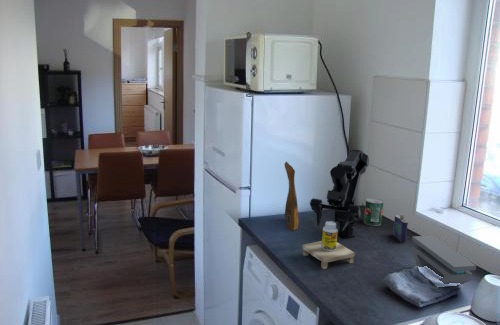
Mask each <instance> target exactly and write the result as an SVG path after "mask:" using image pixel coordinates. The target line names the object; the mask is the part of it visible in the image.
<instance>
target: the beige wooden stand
mask: <svg viewBox="0 0 500 325" xmlns="http://www.w3.org/2000/svg"><path fill="white" fill-rule="evenodd" d="M321 244H322V240H319V241H314V242H310V243H309V242H308V243H304V244H302V245H301V246H302V247H301V248H302V255H303V256H304V257H308V256H309V254H310V255H311V256H312V257H314V258H315V259H317V260H319V262H320V261H321V262H320V268H321V269H323V270H327V269H328V265H329V264H328V263H331V262H335V261H341V260H347V263H348V264H354V260H355V258H354V257H355V256H356V253H355V251H352V250H351V249H349V248H347V247H346V246H344V245H343V244H341V243H339V242H338V241H337V244H336V249H335V250H334V251H326V250H324V249H322V247H321Z"/></svg>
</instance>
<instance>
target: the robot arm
mask: <svg viewBox="0 0 500 325" xmlns="http://www.w3.org/2000/svg"><path fill="white" fill-rule="evenodd" d="M369 164H370V158H369V155H367V154H366V153H365V152H364V151H363V150H362V149H355V148H353V149H350V151H349V154H348V156H347V157H346V158H345V160H344V161H339V163H338V164H337V165H336V166H334V167H333V168H331V170H330V172H329V174H330V178H331V182H332V184H333V185H332V190H329V189H328V190H327V194H326V199H327V200H326V202H327V203H324V202H323V200H322V199H319V198H311V199H310V202H309V205H310V208H311V210H312V211H313V212H314V213H315V214H316V226H317V227H319V226H320V223H321V220H322V216H323V209H325V210H330V211H334V222H337V229H338V233H337V237H340V238H341V239H349V238H355V237H356V235H355V234H354V225H356V224H358V220H359V219H360V218H361V216H362V214H361V208H360V206H359V205H357V204H355V200H356V196H357V191H358V187H359V183H360V179H361V176H362V175H363V174H364V173H366V172H367V168H368V167H369Z"/></svg>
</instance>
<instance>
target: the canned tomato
mask: <svg viewBox="0 0 500 325" xmlns="http://www.w3.org/2000/svg"><path fill="white" fill-rule="evenodd" d="M383 208H384V200H383V199H380V198H377V197H368V198H366V199H365V206H364V215H363V216H364V217H363V224H365V225H367V226H372V227H373V226H374V227H377V226H381V225H382V218H383V211H384V209H383Z"/></svg>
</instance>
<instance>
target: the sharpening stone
mask: <svg viewBox="0 0 500 325" xmlns="http://www.w3.org/2000/svg"><path fill="white" fill-rule="evenodd" d="M411 241H412V242H413V243H415V244H416V245H413V247H412V255H413V258H414V261H415V264H416V267H417V266H419V267H424V266H427V267H428V268H430V269H431V270H433V271H434V272H435V273H436V274H438V275H439V276H441V277H443V278H441V279H439V280H440V281H442V282H443V283H444V284H449V283H460V284H461V285H460V286H463V285H464V284H466V283H469V282H470V281H472V280H473V279H472V278H473V273H472V272H471V271H476V269H477V265H476V264H474V263H473V262H471V261H470V260H469V259H467V258H466V257H464V256H462V255H461V254H460V253H458V252H457V251H455V250H454V249H452V248H451V247H449V246H448V245H447V244H445V243H443V242H442V241H440V239H437V238H436V237H434V236H433V235H421V236H419V235H417V236H412V238H411Z"/></svg>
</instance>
